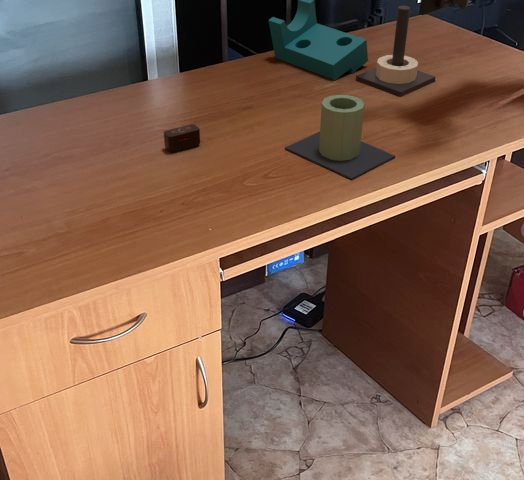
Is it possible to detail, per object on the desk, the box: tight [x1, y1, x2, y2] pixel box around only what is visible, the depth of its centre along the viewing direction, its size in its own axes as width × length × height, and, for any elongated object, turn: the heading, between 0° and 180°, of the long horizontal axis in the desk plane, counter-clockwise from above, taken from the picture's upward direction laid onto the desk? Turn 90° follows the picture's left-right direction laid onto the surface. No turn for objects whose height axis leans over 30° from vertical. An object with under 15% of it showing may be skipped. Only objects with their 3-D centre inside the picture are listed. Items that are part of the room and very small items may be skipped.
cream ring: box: [375, 54, 419, 84], centre depth 166 cm, size 8×8×3 cm
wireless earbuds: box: [163, 123, 201, 153], centre depth 143 cm, size 5×7×3 cm, turn 122°
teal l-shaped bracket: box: [268, 0, 369, 81], centre depth 171 cm, size 18×11×10 cm, turn 44°
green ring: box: [319, 94, 365, 161], centre depth 139 cm, size 7×7×9 cm
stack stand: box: [355, 5, 437, 98], centre depth 163 cm, size 12×12×15 cm
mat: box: [284, 131, 396, 181], centre depth 142 cm, size 16×12×1 cm
